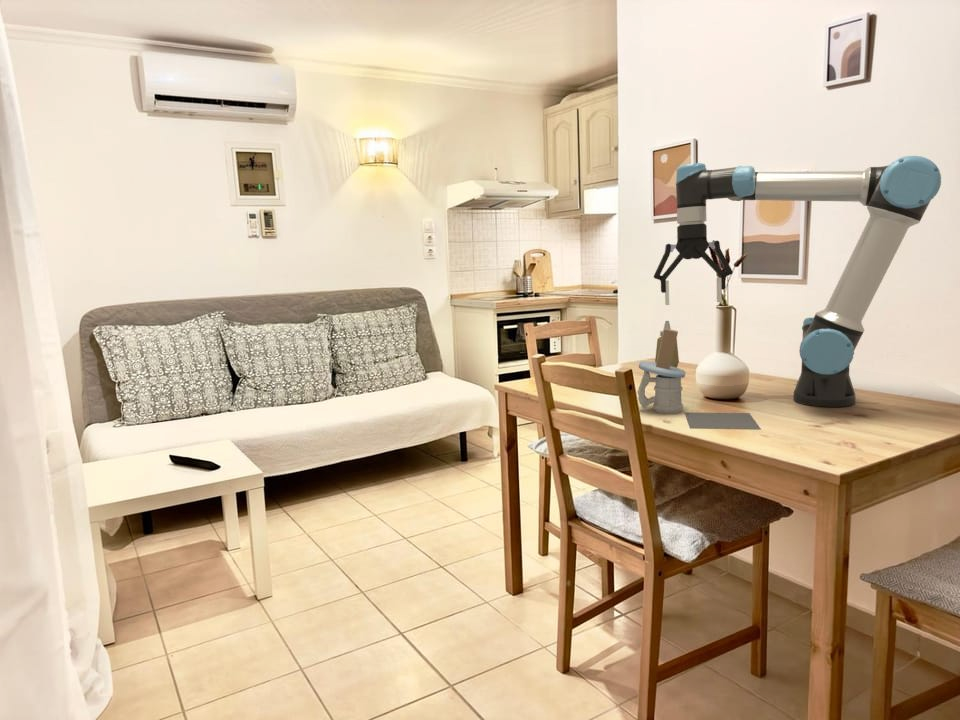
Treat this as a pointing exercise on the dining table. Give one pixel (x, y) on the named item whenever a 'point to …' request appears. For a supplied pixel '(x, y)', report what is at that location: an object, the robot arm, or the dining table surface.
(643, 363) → the lid
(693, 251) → the robot arm
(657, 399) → the mug
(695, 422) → the mat
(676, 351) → the squeeze bottle
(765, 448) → the dining table surface
